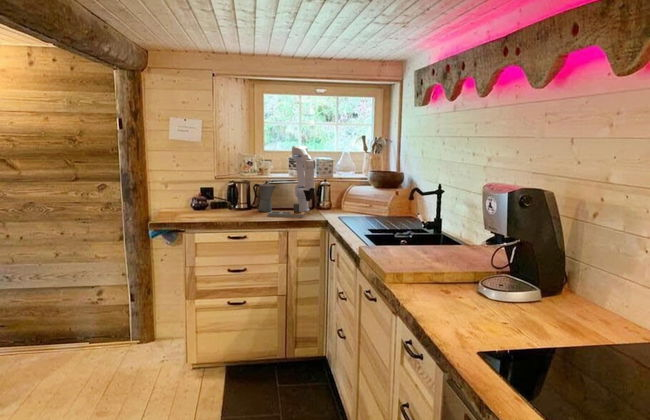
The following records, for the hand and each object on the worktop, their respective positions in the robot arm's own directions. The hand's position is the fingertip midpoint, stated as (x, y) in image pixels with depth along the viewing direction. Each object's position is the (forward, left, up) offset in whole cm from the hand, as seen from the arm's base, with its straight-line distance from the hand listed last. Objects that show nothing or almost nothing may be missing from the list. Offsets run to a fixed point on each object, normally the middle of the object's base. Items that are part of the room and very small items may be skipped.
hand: (309, 200), depth 306 cm
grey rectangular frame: (+7, -13, -9) cm, 18 cm away
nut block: (+7, -6, -9) cm, 13 cm away
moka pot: (-7, -31, -10) cm, 34 cm away
